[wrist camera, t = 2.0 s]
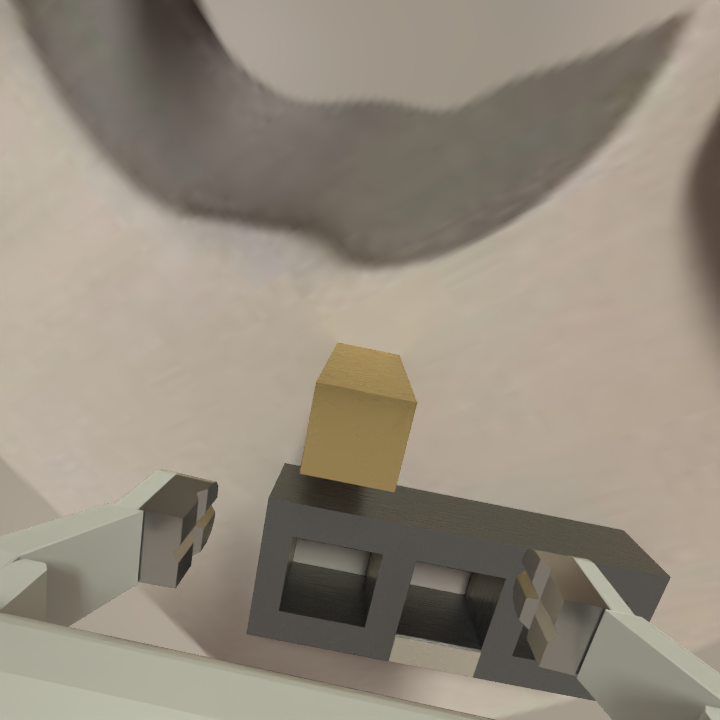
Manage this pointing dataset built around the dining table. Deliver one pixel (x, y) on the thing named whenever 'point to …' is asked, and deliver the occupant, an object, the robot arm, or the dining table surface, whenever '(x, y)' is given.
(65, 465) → the dining table surface
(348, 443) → the brass peg
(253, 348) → the dining table surface
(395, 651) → the grey peg holder
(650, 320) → the dining table surface
